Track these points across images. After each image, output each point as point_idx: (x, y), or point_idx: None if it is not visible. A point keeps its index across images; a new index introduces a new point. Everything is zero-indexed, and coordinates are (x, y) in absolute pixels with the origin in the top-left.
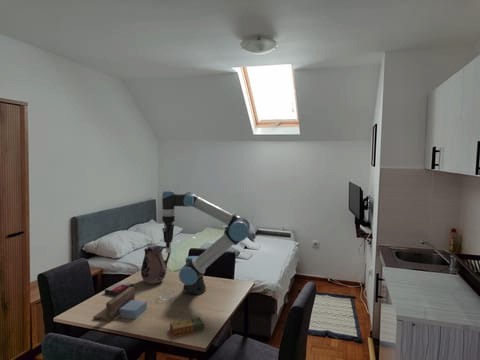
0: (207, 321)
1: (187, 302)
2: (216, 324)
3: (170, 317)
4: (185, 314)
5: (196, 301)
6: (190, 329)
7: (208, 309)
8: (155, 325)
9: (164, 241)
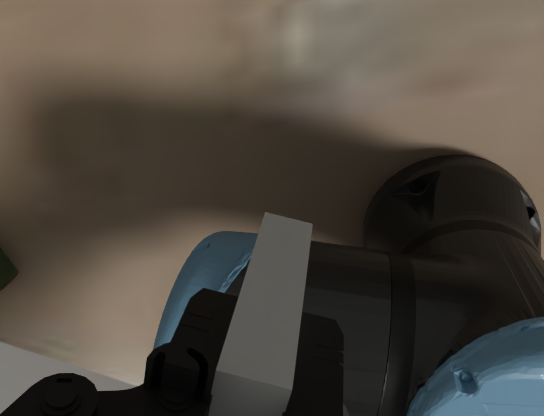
0: (45, 304)
1: (246, 202)
2: (29, 337)
3: (40, 129)
4: (91, 205)
5: None
6: None
7: None
8: None
9: (26, 399)
